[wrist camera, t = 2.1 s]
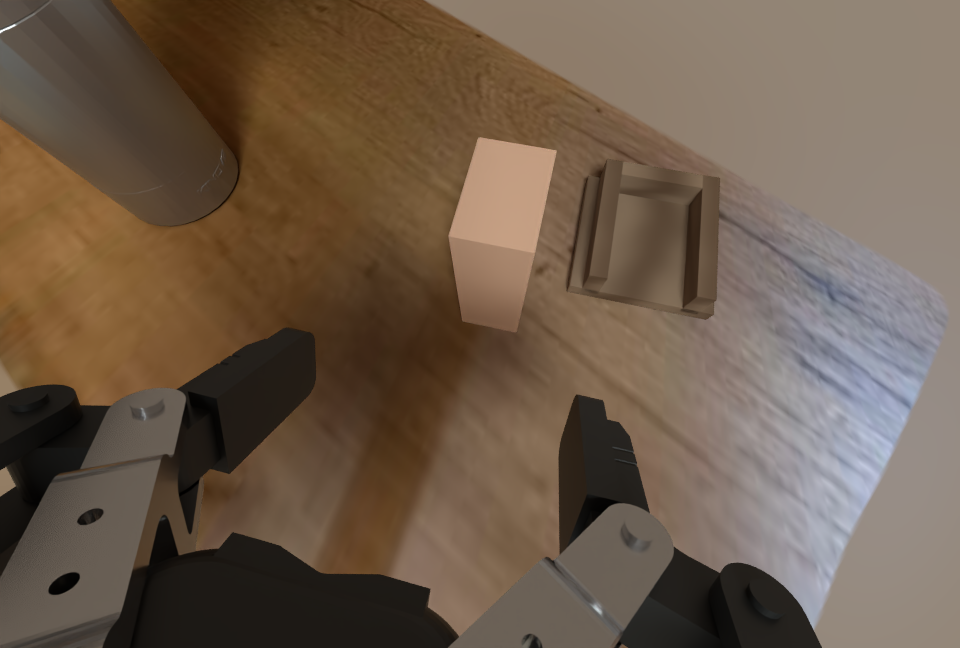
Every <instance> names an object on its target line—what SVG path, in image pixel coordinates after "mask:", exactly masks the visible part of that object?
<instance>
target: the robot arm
mask: <svg viewBox="0 0 960 648" xmlns="http://www.w3.org/2000/svg"><path fill="white" fill-rule="evenodd" d="M0 119H2V120H3V121H4V122H6V123H7V124H9V125H10V126H11V127H13V128H14V129H16V130H17V131H18V132H20V133H21V134H22V135H24V136H25V137H27V138H28V139H29V140H31V141H32V142H34V143H35V144H36V145H38V146H39V147H41V148H42V149H43V150H45V151H46V152H48V153H49V154H50V155H52V156H53V157H55V158H56V159H57V160H59V161H60V162H62V163H63V164H64V165H66V166H67V167H69V168H70V169H71V170H73V171H74V172H75V173H77V174H78V175H80V176H81V177H82V178H84V179H85V180H87V181H88V182H89V183H91V184H92V185H93V186H95V187H96V188H97V189H99V190H100V191H102V192H103V193H104V194H106V195H107V196H108V197H110V198H111V199H113V200H114V201H115V202H117V203H118V204H120V205H121V206H122V207H124V208H125V209H127V210H128V211H129V212H131V213H132V214H134V215H135V216H136V217H138V218H139V219H141V220H143V221H145V222H147V223H149V224H154V225H159V226H175V225H181V224H186V223H189V222H192V221H195V220H197V219H199V218H201V217H203V216H205V215H207V214H209V213H210V212H212V211H213V210H214V209H216V208H217V207H218V206H219V205H220V204H221V203H222V202H223V201H224V200H225V199H226V198H227V197H228V195H229V194H230V193H231V191H232V190H233V187H234V185H235V183H236V180H237V175H238V164H237V160H236V158H235V155H234V154H233V152H232V151H231V150H230V149H229V147H228V146H227V145H226V144H225V142H224V141H223V140H222V139H221V137H220V136H219V135H218V134H217V132H216V131H215V130H214V129H213V127H212V126H211V125H210V124H209V122H208V121H207V120H206V119H205V117H204V116H203V115H202V113H201V112H200V111H199V110H198V108H197V107H196V106H195V105H194V103H193V102H192V101H191V100H190V98H189V97H188V96H187V95H186V93H185V92H184V91H183V90H182V88H181V87H180V86H179V85H178V83H177V82H176V81H175V80H174V79H173V77H172V76H171V75H170V74H169V72H168V71H167V70H166V69H165V67H164V66H163V65H162V64H161V62H160V61H159V60H158V59H157V57H156V56H155V55H154V54H153V52H152V51H151V50H150V49H149V47H148V46H147V45H146V44H145V43H144V41H143V40H142V39H141V38H140V36H139V35H138V34H137V33H136V31H135V30H134V29H133V28H132V26H131V25H130V24H129V23H128V21H127V20H126V19H125V18H124V16H123V15H122V14H121V13H120V11H119V10H118V9H117V8H116V7H115V5H114V4H113V3H112V2H111V0H0ZM315 380H316V361H315V339H314V336H313V334H312V333H310V332H305V331H301V330H297V329H292V328H284V329H282V330H280V331H279V332H277V333H276V334H274V335H273V336H271V337H270V338H268V339H264V340H261V341H258V342H255V343H252V344H249V345H246V346H245V347H243V348H242V349H240V350H238V351H237V352H235V353H234V354H233V355H232V356H229V357H227V358H226V359H224V360H223V361H221V363H220V364H216V365H215V366H213V367H212V368H210V369H208V370H207V371H205V372H204V373H202V374H200V375H199V376H197V377H196V378H194V379H192V380H191V381H189V382H188V383H186V384H185V385H183V386H181V387H180V388H178V389H177V390H176V389H171V388H154V389H148V390H143V391H139V392H136V393H133V394H131V395H128V396H126V397H124V398H122V399H120V400H119V401H117V402H116V403H114V404H113V405H112V406H85V405H80V403H79V400H78V398H77V395H76V392H75V390H74V389H73V388H71V387H68V386H64V385H41V386H35V387H30V388H25V389H22V390H18V391H15V392H12V393H9V394H7V395H4V396H2V397H0V470H1V469H3V468H5V467H7V469H8V471H9V473H10V475H11V477H12V479H13V481H14V483H15V485H16V487H14V488H13V489H11V490H10V491H8V492H7V493H5V494H4V495H2V496H1V497H0V648H620V647H621V646H622V644H624V645H625V646H627V647H628V648H822V647H821V645H820V643H819V641H818V639H817V636H816V634H815V632H814V630H813V628H812V626H811V624H810V622H809V620H808V618H807V616H806V614H805V612H804V611H803V609H802V607H801V606H800V604H799V603H798V601H797V600H796V599H795V598H794V597H793V595H792V594H791V593H790V592H789V591H788V590H787V589H786V588H785V587H784V586H783V585H782V584H781V583H779V582H778V581H777V580H776V579H774V578H773V577H772V576H770V575H769V574H767V573H765V572H764V571H762V570H760V569H758V568H756V567H753V566H751V565H748V564H744V563H731V564H728V565H726V566H725V567H724V568H723V569H722V571H721V572H720V573H719V572H717V571H715V570H713V569H711V568H709V567H707V566H706V565H704V564H702V563H700V562H698V561H696V560H694V559H692V558H691V557H689V556H687V555H685V554H684V553H682V552H681V551H679V550H678V549H676V548H675V547H674V546H673V542H672V539H671V537H670V535H669V533H668V532H667V530H666V529H665V527H664V526H663V525H662V524H661V523H660V522H659V521H658V520H657V519H656V518H655V517H654V516H653V515H651V514H650V512H649V508H648V504H647V500H646V496H645V493H644V489H643V485H642V481H641V477H640V474H639V470H638V467H637V462H636V458H635V454H633V452H634V451H633V447H632V443H631V439H630V436H629V435H628V434H627V432H626V431H625V430H624V428H623V427H622V426H621V424H620V423H619V422H615V421H611V420H607V417H606V411H605V406H604V402H603V400H599V399H595V398H590V397H586V396H581V395H576V396H575V398H574V400H573V403H572V406H571V409H570V412H569V416H568V419H567V422H566V425H565V428H564V431H563V435H562V438H561V442H560V448H559V540H560V555H559V556H558V557H557V558H556V559H555V560H553V561H552V560H551V559H550V558H549V557H546V558H543V559H542V560H540V561H539V562H538V563H537V564H536V565H535V566H533V567H532V568H531V569H530V570H529V571H528V572H527V573H526V574H525V575H524V576H523V577H522V578H521V579H520V580H519V581H518V582H517V583H516V584H515V585H513V586H512V587H511V588H510V589H509V590H508V591H507V592H506V593H505V594H504V595H503V596H502V597H501V598H500V599H499V600H498V601H497V602H496V603H494V604H493V605H492V606H491V607H490V608H489V609H488V610H487V611H486V612H485V613H484V614H483V615H482V616H481V617H480V618H479V619H478V620H477V621H476V622H474V623H473V624H472V625H471V626H470V627H469V628H468V629H467V630H466V631H465V632H464V633H463V634H462V635H461V636H460V637H459V636H458V634H457V633H456V632H455V631H454V630H453V629H452V627H451V626H450V625H449V624H448V623H447V622H446V621H445V620H444V619H443V618H442V617H440V616H439V615H438V614H437V613H435V612H434V611H432V610H431V609H430V608H428V601H429V595H430V589H429V588H426V587H422V586H419V585H415V584H412V583H408V582H405V581H401V580H398V579H394V578H391V577H387V576H384V575H380V574H323V573H320V572H318V571H316V570H315V569H313V568H312V567H310V566H309V565H307V564H306V563H304V562H303V561H301V560H300V559H299V558H297V557H296V556H294V555H293V554H291V553H290V552H288V551H287V550H285V549H284V548H282V547H281V546H279V545H276V544H272V543H269V542H265V541H262V540H258V539H255V538H251V537H248V536H244V535H241V534H237V533H234V532H233V533H232V534H231V535H230V536H229V537H228V538H227V540H226V541H225V542H224V543H223V544H222V546H221V547H220V548H219V549H209V550H200V551H196V542H197V534H198V527H199V519H200V511H201V504H202V496H203V488H204V480H203V475H204V474H205V473H206V472H207V471H208V470H209V469H213V470H217V471H221V472H224V473H228V474H230V473H231V472H232V471H233V470H234V469H235V468H236V467H237V466H238V465H239V464H240V463H241V462H242V461H243V460H244V459H245V458H246V457H247V456H248V455H249V454H250V453H251V452H252V451H253V450H254V449H255V448H256V447H257V446H258V445H259V444H260V443H261V442H262V441H263V440H264V439H265V438H266V437H267V436H268V435H269V434H270V433H271V432H272V431H273V430H274V429H275V428H276V427H277V426H278V425H279V424H280V423H281V422H282V421H283V420H284V419H285V418H286V417H287V416H288V415H289V414H290V413H291V412H292V411H293V410H294V409H295V408H296V407H297V406H298V405H299V404H300V403H301V402H302V401H303V400H304V399H306V398H307V397H308V395H309V394H310V393H311V391H312V389H313V387H314V384H315Z"/></svg>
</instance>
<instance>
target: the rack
mask: <svg viewBox="0 0 960 648" xmlns="http://www.w3.org/2000/svg"><path fill="white" fill-rule="evenodd" d="M719 192H720V178H717V177H711V176H705V175H699V174H693V173H688V172H682V171H676V170H670V169H664V168H658V167H652V166H646V165H640V164H634V163H628V162H622V161H617V160H611V159H607V161H606V164H605V166H604V169H603V171H602V174H601V176H600V177H594V176H588V179H587V182H586V186H585V192H584V197H583V203H582V209H581V215H580V220H579V226H578V232H577V238H576V243H575V249H574V255H573V261H572V266H571V272H570V278H569V284H568V289H567V292H572V293H577V294H582V295H587V296H592V297H597V298H602V299H607V300H612V301H616V302H621V303H626V304H631V305H636V306H641V307H646V308H651V309H656V310H661V311H666V312H671V313H676V314H680V315H685V316H690V317H695V318H700V319H705V320H706V319H708V318H709V317H711V316H712V315H714V302H715V301H716V297H717V262H718V227H719Z"/></svg>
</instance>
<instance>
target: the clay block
mask: <svg viewBox="0 0 960 648" xmlns="http://www.w3.org/2000/svg"><path fill="white" fill-rule="evenodd" d="M555 156H556V150H550V149H544V148H539V147H533V146H527V145H521V144H515V143H509V142H503V141H497V140H492V139H486V138H480V137H479V138H478V141H477V144H476V148H475V151H474V154H473V158H472V161H471V164H470V167H469V171H468V174H467V177H466V180H465V184H464V187H463V190H462V194H461V197H460V200H459V203H458V207H457V210H456V213H455V216H454V220H453V223H452V226H451V230H450V233H449V236H448V237H449V243H450V249H451V255H452V261H453V267H454V274H455V280H456V286H457V292H458V298H459V304H460V310H461V317H462V321H464V322H468V323H473V324H478V325H482V326H487V327H491V328H496V329H501V330H505V331H510V332H515V333H517V329H518V324H519V320H520V316H521V311H522V307H523V303H524V298H525V294H526V289H527V285H528V281H529V276H530V272H531V268H532V263H533V259H534V254H535V250H536V245H537V240H538V236H539V231H540V226H541V222H542V217H543V212H544V208H545V203H546V198H547V193H548V189H549V184H550V179H551V175H552V170H553V165H554V161H555Z"/></svg>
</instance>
